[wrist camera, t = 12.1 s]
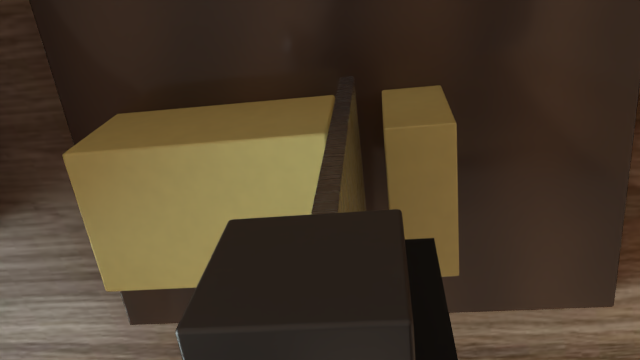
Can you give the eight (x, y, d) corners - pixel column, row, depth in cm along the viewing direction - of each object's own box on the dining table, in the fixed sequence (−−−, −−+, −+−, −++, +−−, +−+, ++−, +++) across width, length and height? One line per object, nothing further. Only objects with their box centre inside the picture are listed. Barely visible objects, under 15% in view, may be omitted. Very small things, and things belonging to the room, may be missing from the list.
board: (643, -86, 17) (661, -87, 16) (602, 289, 23) (614, 307, 22) (44, -14, 20) (25, -10, 19) (140, 308, 26) (129, 325, 24)
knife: (304, 61, 15) (172, 331, 5) (385, 54, 15) (413, 321, 5) (338, 325, 19) (299, 790, 9) (404, 323, 19) (441, 798, 9)
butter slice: (441, 84, 19) (456, 122, 15) (444, 215, 21) (459, 276, 17) (381, 90, 19) (383, 128, 16) (390, 218, 21) (394, 279, 18)
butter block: (335, 93, 19) (325, 133, 16) (348, 221, 21) (343, 282, 18) (116, 113, 20) (60, 154, 17) (148, 233, 22) (105, 293, 19)
